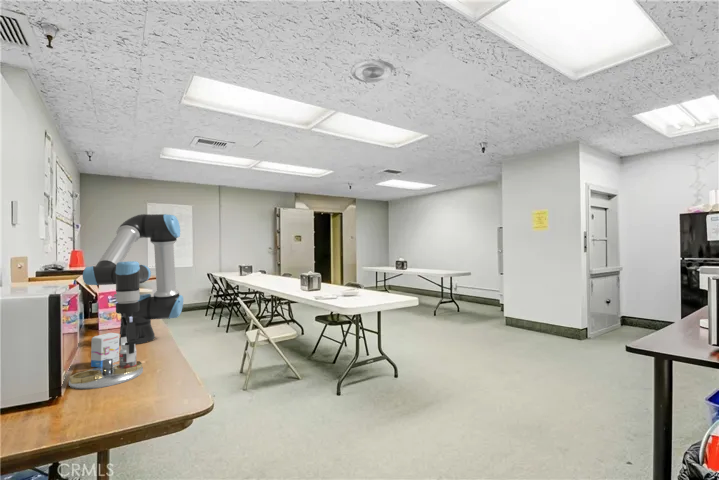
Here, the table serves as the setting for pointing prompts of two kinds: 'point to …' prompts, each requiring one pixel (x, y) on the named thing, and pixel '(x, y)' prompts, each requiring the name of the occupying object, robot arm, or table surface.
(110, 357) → the ink box
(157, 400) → the table surface
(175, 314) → the robot arm
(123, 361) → the pill bottle
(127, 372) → the carrier
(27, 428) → the table surface
